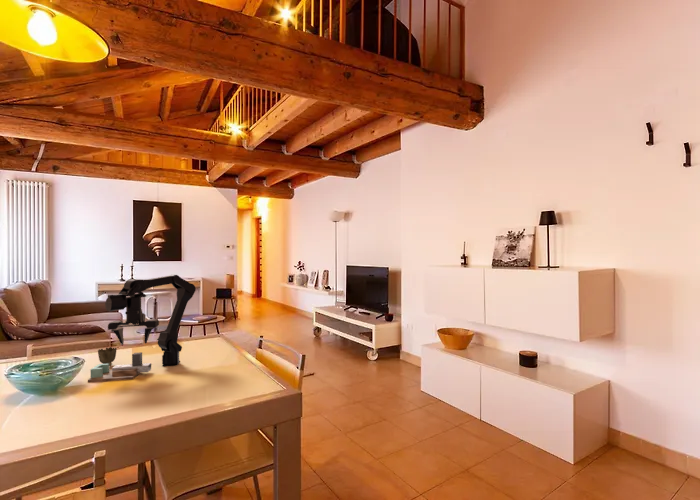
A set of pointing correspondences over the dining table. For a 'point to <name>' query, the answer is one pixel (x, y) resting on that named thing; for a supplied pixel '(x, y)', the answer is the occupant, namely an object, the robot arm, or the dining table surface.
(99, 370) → the socket block
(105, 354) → the cup
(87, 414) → the dining table surface
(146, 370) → the grey t-shaped block
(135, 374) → the slide base
